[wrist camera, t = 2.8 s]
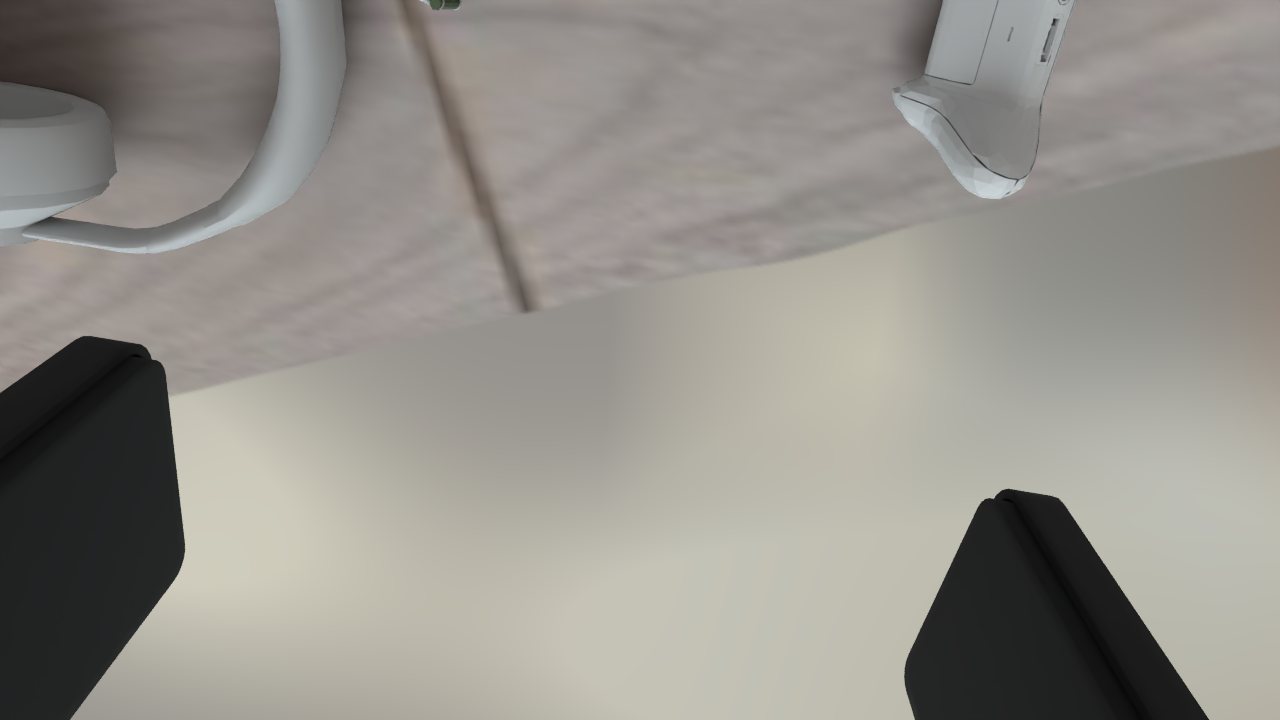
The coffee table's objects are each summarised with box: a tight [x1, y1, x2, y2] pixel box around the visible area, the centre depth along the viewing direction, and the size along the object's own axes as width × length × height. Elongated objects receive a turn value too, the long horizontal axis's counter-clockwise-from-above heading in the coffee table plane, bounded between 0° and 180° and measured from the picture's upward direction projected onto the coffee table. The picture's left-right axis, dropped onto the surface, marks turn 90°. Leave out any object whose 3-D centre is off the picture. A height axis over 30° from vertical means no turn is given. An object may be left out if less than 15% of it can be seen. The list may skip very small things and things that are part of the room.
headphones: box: [0, 0, 347, 254], centre depth 28 cm, size 18×8×20 cm
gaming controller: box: [892, 0, 1076, 199], centre depth 28 cm, size 10×4×7 cm, turn 174°
